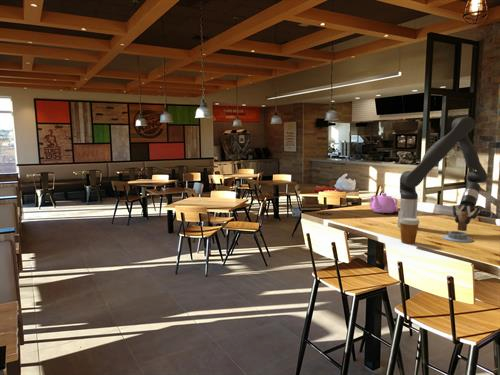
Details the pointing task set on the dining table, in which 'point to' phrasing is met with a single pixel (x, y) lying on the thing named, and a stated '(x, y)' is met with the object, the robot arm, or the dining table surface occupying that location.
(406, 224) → the disposable coffee cup
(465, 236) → the ring socket
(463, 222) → the walnut plug
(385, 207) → the teapot
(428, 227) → the dining table surface
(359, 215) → the dining table surface
